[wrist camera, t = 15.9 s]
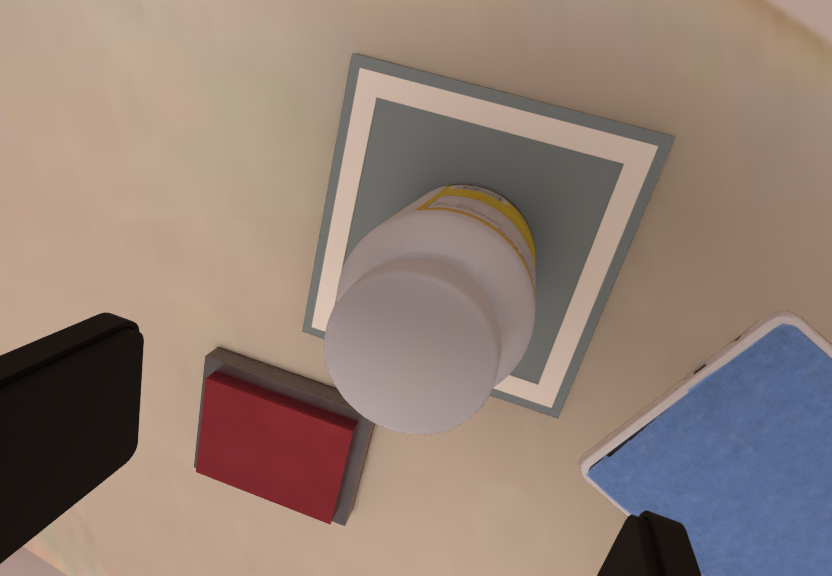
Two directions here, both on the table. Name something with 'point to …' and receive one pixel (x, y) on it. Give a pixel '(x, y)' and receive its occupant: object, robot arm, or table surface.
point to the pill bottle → (433, 310)
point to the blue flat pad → (736, 455)
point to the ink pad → (280, 436)
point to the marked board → (504, 173)
